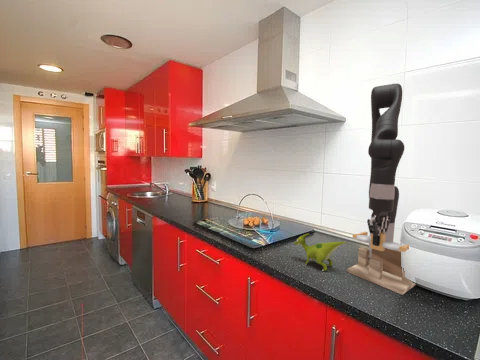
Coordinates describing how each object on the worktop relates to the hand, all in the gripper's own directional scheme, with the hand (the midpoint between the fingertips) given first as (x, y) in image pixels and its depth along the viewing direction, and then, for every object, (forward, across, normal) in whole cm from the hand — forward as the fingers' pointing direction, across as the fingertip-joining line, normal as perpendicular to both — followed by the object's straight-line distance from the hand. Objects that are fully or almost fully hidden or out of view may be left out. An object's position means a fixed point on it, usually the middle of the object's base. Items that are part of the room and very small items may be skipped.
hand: (377, 244), depth 87 cm
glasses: (+2, -3, 0) cm, 3 cm away
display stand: (+14, -5, 0) cm, 14 cm away
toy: (+14, +6, -20) cm, 25 cm away
